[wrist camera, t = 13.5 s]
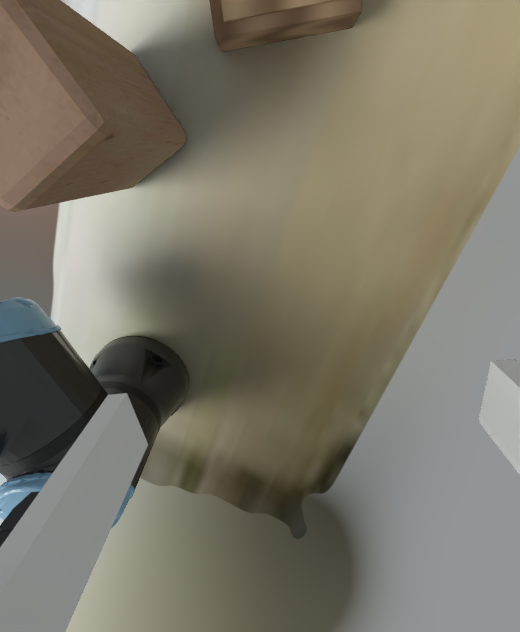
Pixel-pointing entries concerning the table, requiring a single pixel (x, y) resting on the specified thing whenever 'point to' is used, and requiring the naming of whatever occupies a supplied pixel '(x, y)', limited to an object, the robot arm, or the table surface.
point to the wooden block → (73, 109)
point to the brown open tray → (278, 20)
